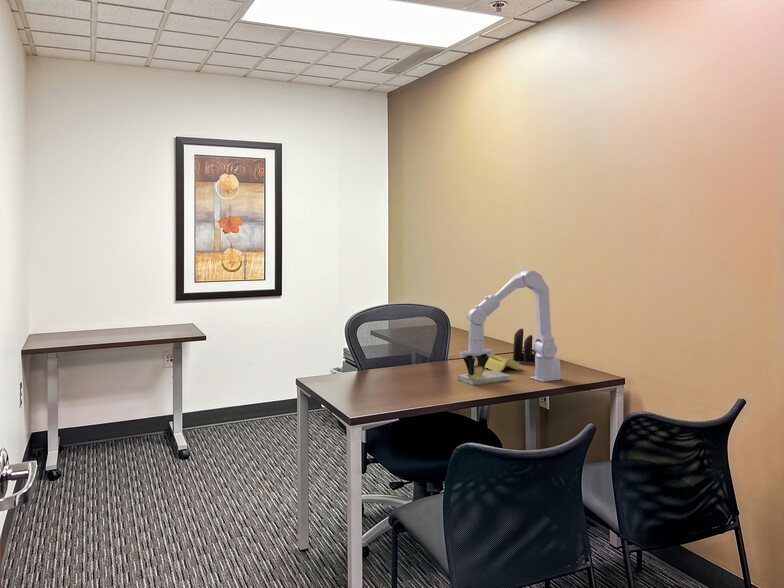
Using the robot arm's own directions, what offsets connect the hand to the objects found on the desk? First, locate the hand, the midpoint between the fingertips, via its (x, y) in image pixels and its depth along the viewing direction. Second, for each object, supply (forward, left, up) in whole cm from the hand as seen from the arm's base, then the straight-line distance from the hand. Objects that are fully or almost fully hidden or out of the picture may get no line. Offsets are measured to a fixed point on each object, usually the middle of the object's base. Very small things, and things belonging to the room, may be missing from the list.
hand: (475, 374), depth 241 cm
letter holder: (-47, -24, -3) cm, 53 cm away
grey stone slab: (-4, 0, -3) cm, 5 cm away
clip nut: (0, 0, -1) cm, 1 cm away
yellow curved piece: (-24, -17, -3) cm, 30 cm away
